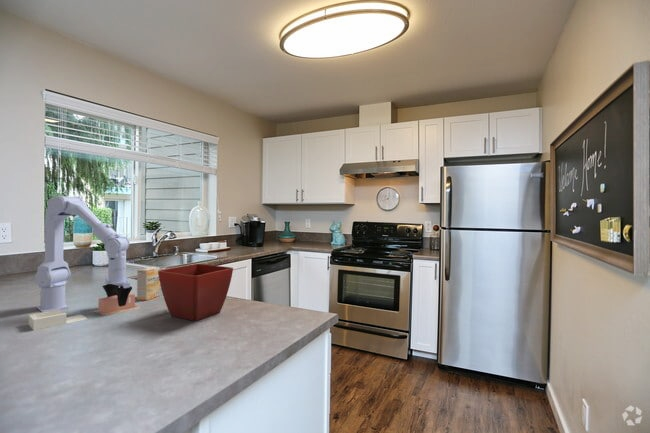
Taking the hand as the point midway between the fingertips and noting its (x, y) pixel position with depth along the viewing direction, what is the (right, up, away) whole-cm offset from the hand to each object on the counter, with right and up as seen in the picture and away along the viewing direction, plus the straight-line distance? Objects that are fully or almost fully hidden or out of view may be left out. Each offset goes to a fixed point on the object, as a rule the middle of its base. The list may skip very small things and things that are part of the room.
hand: (117, 304), depth 122 cm
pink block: (0, -2, 0) cm, 2 cm away
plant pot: (+32, -3, -4) cm, 32 cm away
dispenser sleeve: (-9, -2, -12) cm, 15 cm away
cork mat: (0, -2, 0) cm, 2 cm away
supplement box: (+3, -2, +17) cm, 17 cm away
